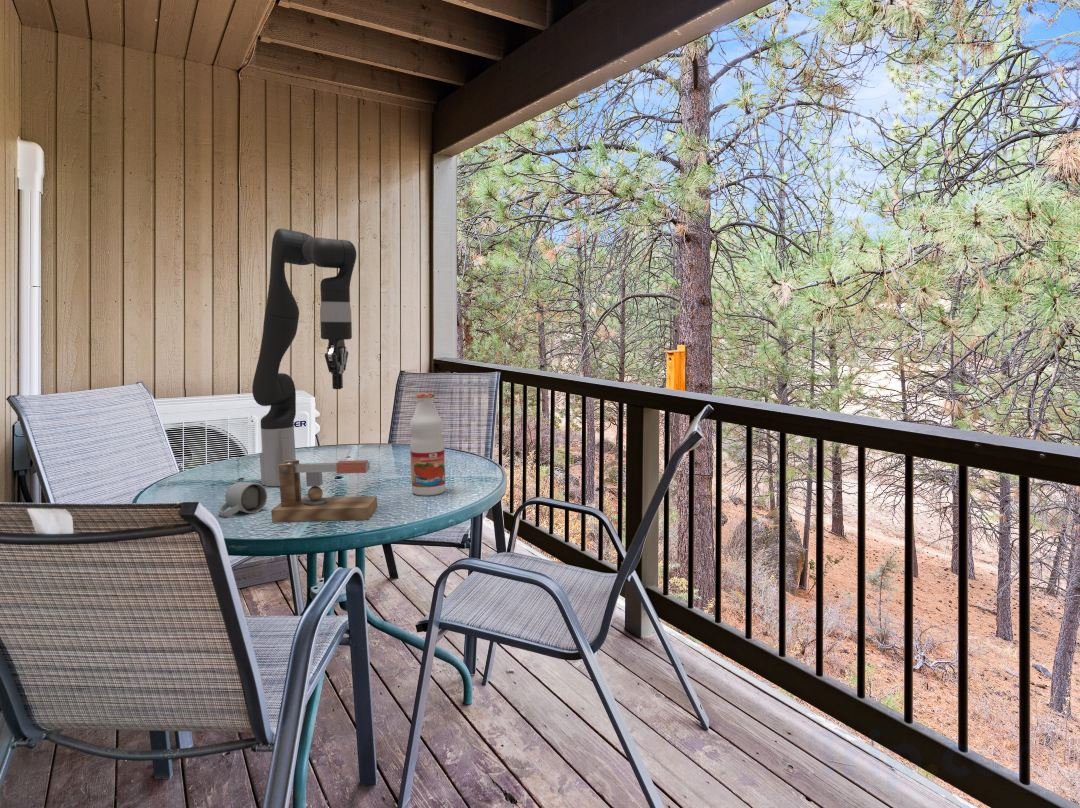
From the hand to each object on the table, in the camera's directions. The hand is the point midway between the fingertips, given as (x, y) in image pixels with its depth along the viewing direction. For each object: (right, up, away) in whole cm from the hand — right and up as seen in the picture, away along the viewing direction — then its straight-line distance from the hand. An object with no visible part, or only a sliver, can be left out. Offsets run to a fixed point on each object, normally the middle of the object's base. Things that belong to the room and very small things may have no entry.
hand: (337, 388), depth 169 cm
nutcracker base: (-2, -32, -3) cm, 32 cm away
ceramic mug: (-25, -32, +1) cm, 40 cm away
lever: (-2, -24, -4) cm, 24 cm away
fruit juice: (+20, -29, +18) cm, 40 cm away
